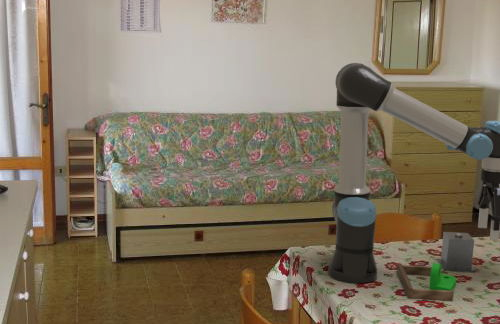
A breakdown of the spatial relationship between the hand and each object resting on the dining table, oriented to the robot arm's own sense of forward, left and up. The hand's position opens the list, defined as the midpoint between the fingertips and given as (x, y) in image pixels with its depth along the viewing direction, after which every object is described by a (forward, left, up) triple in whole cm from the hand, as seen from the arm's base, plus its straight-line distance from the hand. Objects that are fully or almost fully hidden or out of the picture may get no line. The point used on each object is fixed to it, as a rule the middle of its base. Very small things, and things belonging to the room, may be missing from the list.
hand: (488, 233), depth 217 cm
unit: (-9, 0, -12) cm, 15 cm away
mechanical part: (-18, -20, -12) cm, 29 cm away
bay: (-24, -20, -12) cm, 33 cm away
